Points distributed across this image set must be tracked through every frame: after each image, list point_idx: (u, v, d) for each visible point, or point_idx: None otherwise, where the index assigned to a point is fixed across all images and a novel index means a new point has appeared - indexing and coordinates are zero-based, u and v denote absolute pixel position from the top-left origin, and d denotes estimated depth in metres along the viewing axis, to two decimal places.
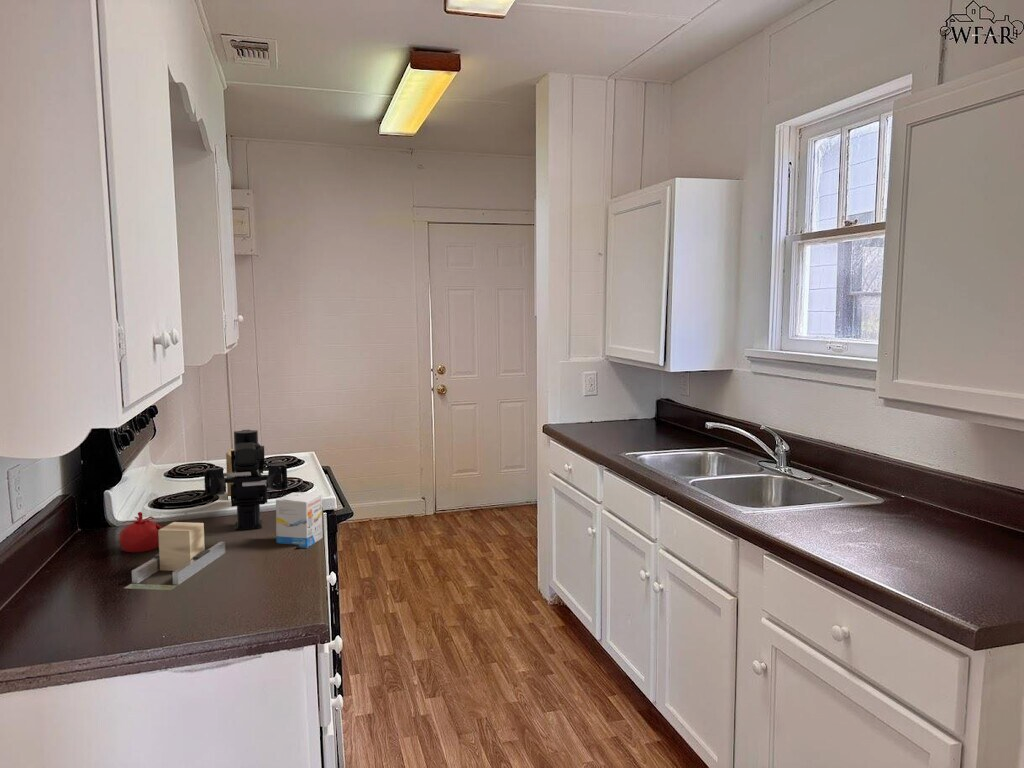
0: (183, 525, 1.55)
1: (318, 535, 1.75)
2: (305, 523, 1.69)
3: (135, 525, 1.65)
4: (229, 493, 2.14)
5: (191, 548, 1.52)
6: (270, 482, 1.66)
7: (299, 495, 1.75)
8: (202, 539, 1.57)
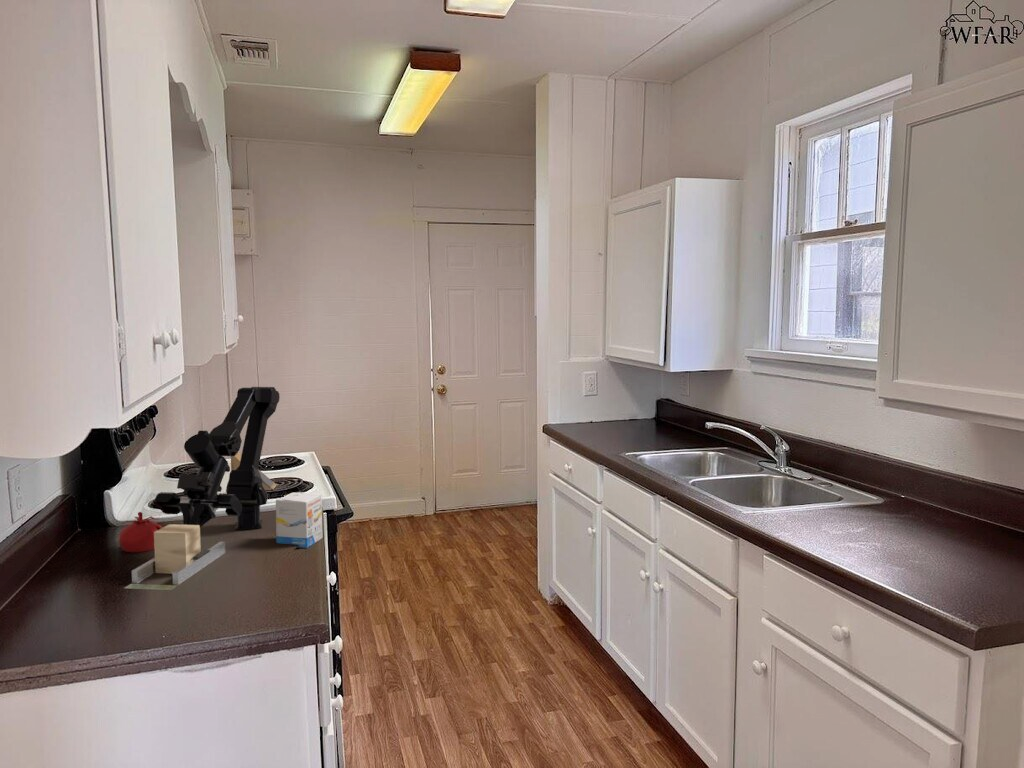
0: (178, 528, 1.53)
1: (318, 535, 1.75)
2: (305, 523, 1.69)
3: (135, 525, 1.65)
4: None
5: (187, 551, 1.50)
6: None
7: (299, 495, 1.75)
8: (198, 541, 1.55)
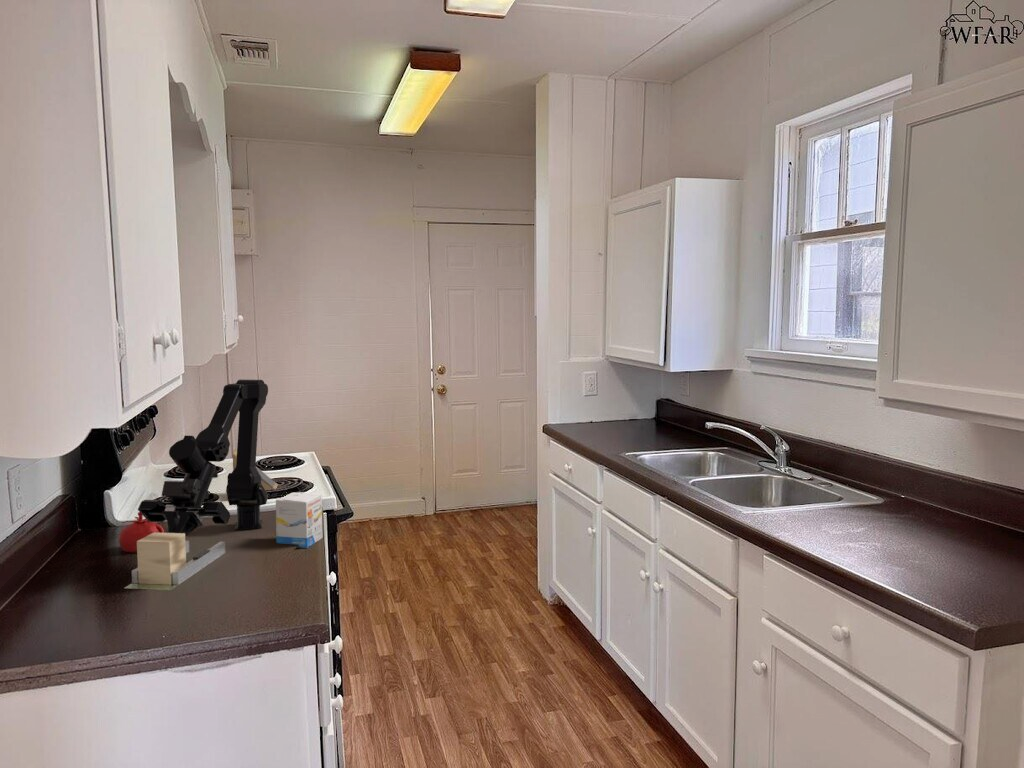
0: (163, 536, 1.47)
1: (318, 535, 1.75)
2: (305, 523, 1.69)
3: (135, 525, 1.65)
4: None
5: (171, 560, 1.44)
6: None
7: (299, 495, 1.75)
8: (183, 550, 1.49)
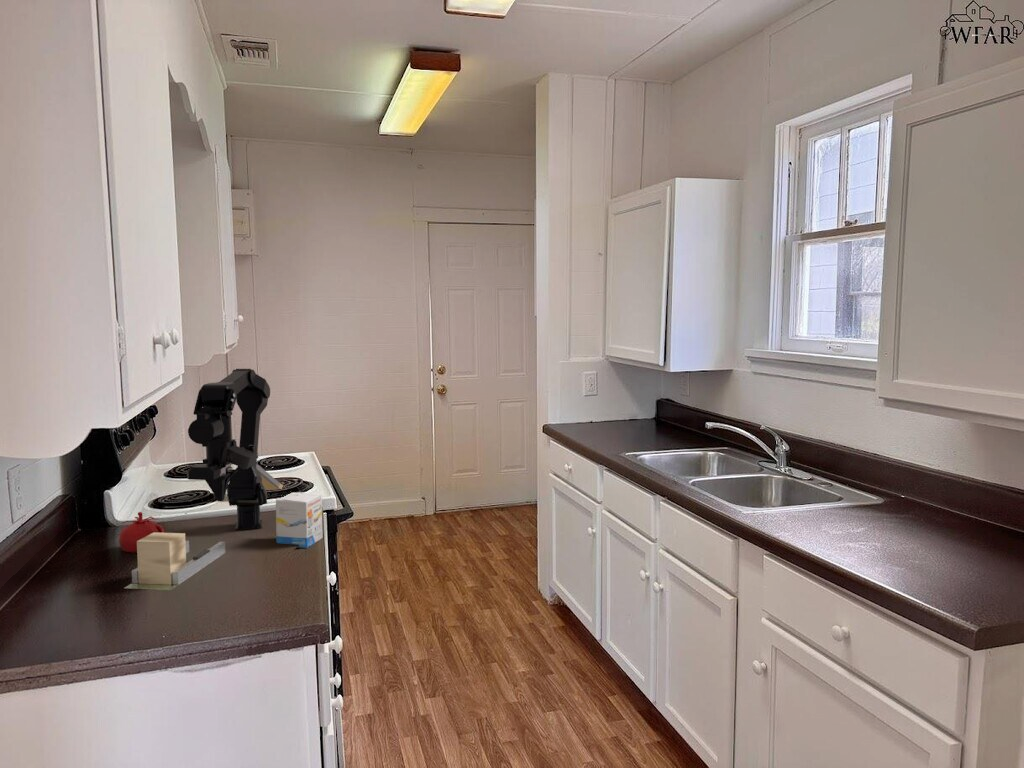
0: (163, 536, 1.47)
1: (318, 535, 1.75)
2: (305, 523, 1.69)
3: (135, 525, 1.65)
4: None
5: (171, 560, 1.44)
6: None
7: (299, 495, 1.75)
8: (183, 550, 1.49)
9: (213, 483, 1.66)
